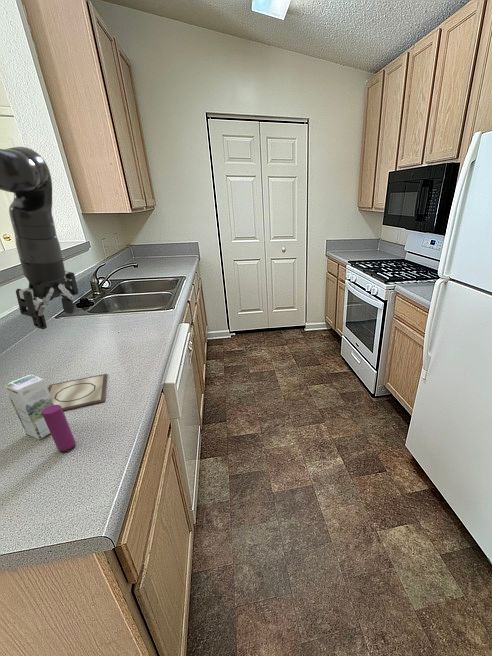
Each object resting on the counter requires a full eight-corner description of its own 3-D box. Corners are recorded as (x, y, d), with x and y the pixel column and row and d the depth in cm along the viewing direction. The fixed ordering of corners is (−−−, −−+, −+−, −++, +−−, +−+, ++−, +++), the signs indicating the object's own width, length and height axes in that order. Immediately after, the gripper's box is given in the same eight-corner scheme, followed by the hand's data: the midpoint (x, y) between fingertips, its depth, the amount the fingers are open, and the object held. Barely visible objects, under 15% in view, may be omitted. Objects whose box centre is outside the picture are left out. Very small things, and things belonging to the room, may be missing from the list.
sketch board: (37, 417, 89) (36, 414, 88) (49, 386, 103) (49, 384, 103) (105, 402, 95) (104, 400, 94) (107, 374, 109) (107, 372, 109)
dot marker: (57, 455, 75) (39, 415, 70) (59, 445, 78) (43, 407, 73) (75, 450, 77) (59, 411, 72) (77, 441, 80) (62, 402, 75)
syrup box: (50, 421, 87) (29, 373, 80) (64, 427, 84) (43, 378, 78) (26, 434, 82) (2, 383, 76) (40, 441, 80) (16, 389, 73)
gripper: (50, 242, 78) (63, 304, 87) (-7, 260, 66) (15, 329, 75) (80, 251, 77) (90, 312, 87) (29, 270, 66) (47, 338, 75)
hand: (55, 320), depth 81 cm, fingers open, 8 cm apart
